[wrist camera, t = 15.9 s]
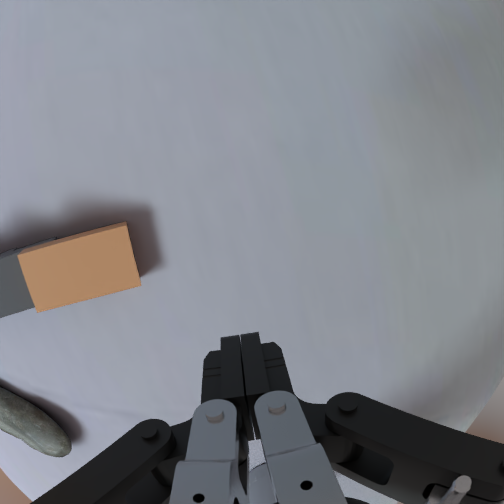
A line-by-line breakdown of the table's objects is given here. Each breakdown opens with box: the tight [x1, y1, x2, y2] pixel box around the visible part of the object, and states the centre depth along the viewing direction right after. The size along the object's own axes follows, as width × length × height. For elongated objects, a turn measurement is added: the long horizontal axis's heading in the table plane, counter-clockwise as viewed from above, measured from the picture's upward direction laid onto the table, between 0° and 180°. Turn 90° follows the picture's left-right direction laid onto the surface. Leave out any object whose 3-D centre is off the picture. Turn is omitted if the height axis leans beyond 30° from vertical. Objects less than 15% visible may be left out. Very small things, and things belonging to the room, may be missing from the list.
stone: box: [0, 387, 72, 457], centre depth 29 cm, size 11×4×15 cm
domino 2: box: [17, 221, 141, 313], centre depth 23 cm, size 2×5×10 cm
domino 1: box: [0, 237, 57, 318], centre depth 22 cm, size 2×5×10 cm
